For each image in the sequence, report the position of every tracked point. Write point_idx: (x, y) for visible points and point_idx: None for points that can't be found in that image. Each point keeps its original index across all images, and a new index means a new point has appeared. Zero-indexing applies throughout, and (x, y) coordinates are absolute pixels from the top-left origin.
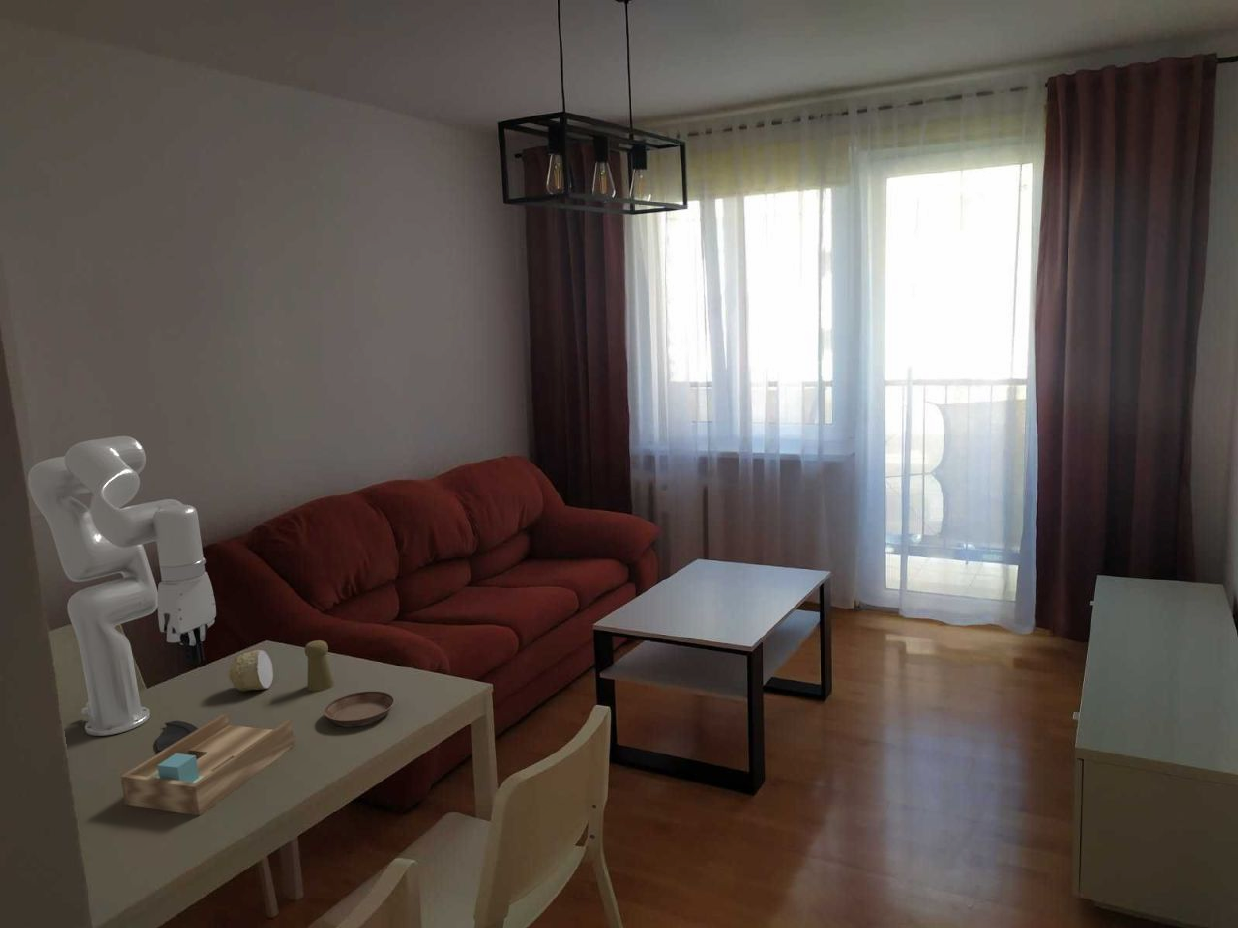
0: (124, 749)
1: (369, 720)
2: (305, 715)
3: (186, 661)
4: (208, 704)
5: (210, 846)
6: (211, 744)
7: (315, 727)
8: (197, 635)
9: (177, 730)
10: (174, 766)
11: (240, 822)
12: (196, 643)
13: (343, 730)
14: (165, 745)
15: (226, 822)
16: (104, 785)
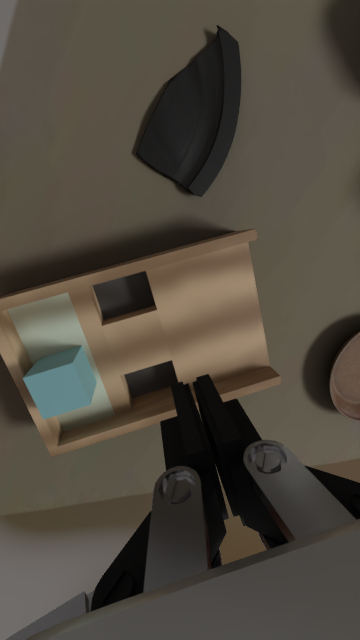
0: (107, 49)
1: (348, 411)
2: (344, 286)
3: (171, 387)
4: (329, 21)
5: (34, 497)
6: (179, 286)
7: (315, 339)
8: (273, 531)
9: (212, 94)
10: (41, 411)
11: (87, 479)
12: (230, 503)
13: (321, 385)
14: (157, 144)
15: (77, 466)
16: (8, 182)
